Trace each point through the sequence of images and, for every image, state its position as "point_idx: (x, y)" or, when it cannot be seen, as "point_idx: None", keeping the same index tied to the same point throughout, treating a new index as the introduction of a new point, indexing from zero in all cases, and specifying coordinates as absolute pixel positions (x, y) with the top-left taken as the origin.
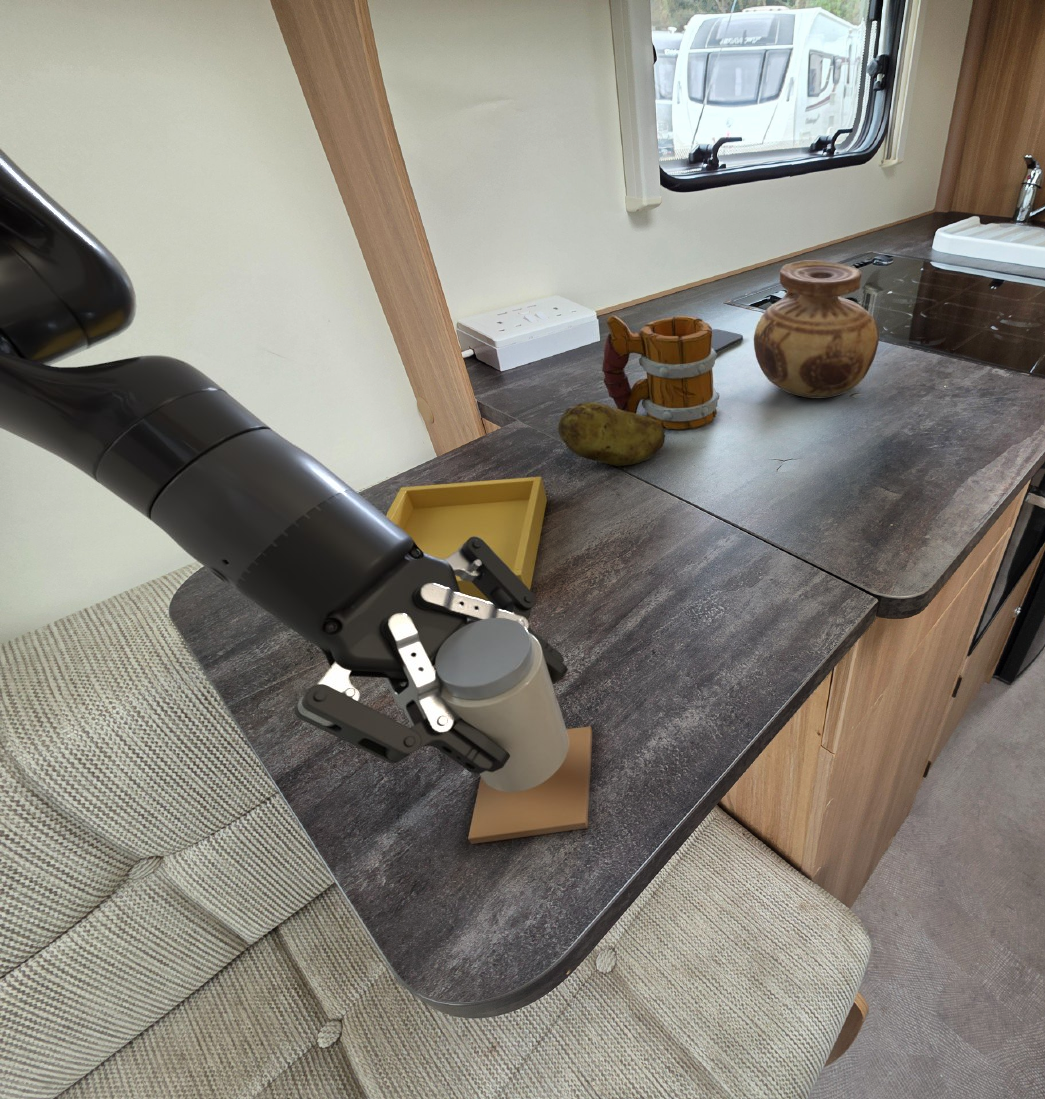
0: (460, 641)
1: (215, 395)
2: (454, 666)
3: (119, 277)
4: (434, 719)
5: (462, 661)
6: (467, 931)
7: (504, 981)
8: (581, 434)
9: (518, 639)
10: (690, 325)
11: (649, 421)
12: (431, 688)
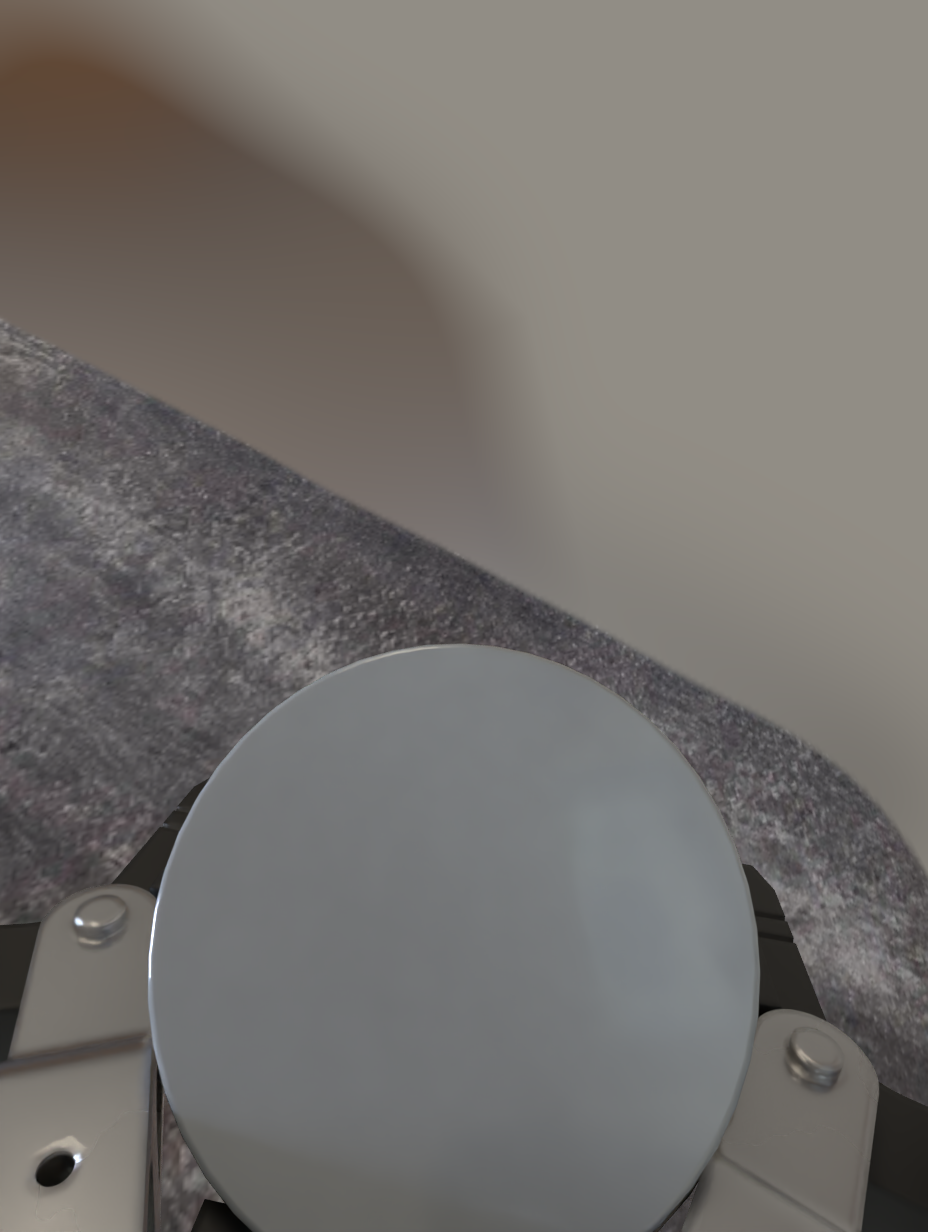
0: (395, 1148)
1: None
2: (621, 1065)
3: None
4: (845, 1096)
5: (567, 1028)
6: (843, 975)
7: (895, 842)
8: None
9: (349, 730)
10: None
11: None
12: (769, 1184)
